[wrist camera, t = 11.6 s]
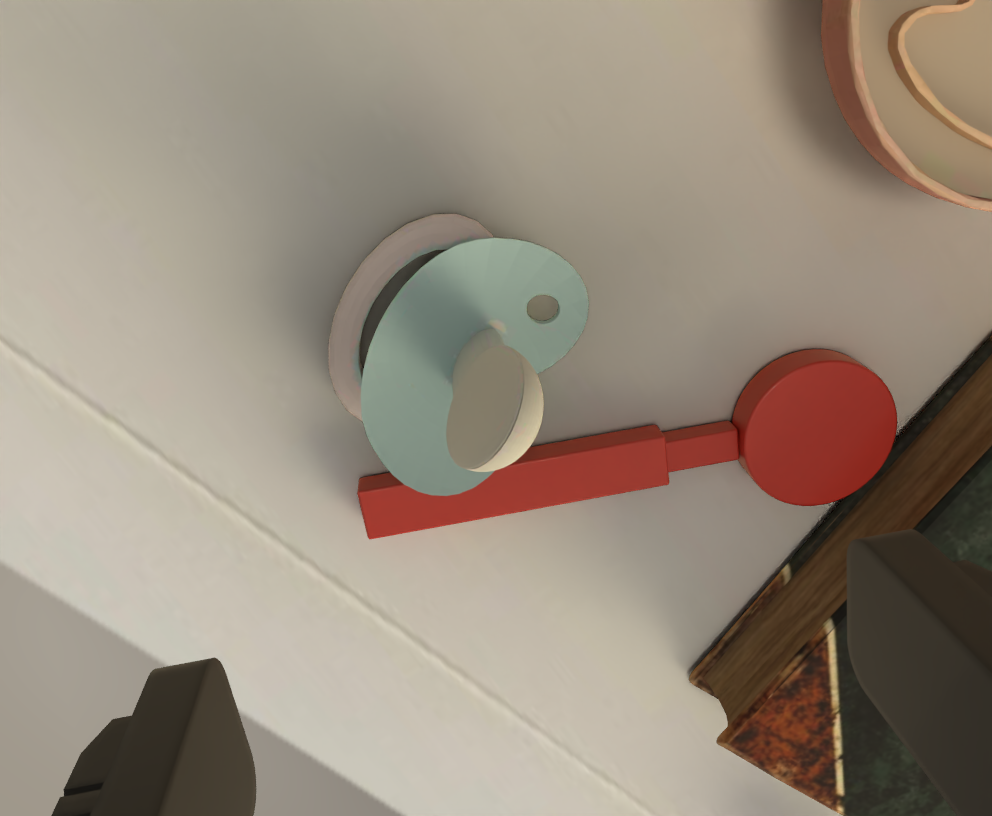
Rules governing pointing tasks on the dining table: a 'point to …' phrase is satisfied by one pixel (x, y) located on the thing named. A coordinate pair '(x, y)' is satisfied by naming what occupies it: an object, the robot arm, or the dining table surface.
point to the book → (823, 618)
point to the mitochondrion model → (917, 89)
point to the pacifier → (453, 350)
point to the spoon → (685, 451)
